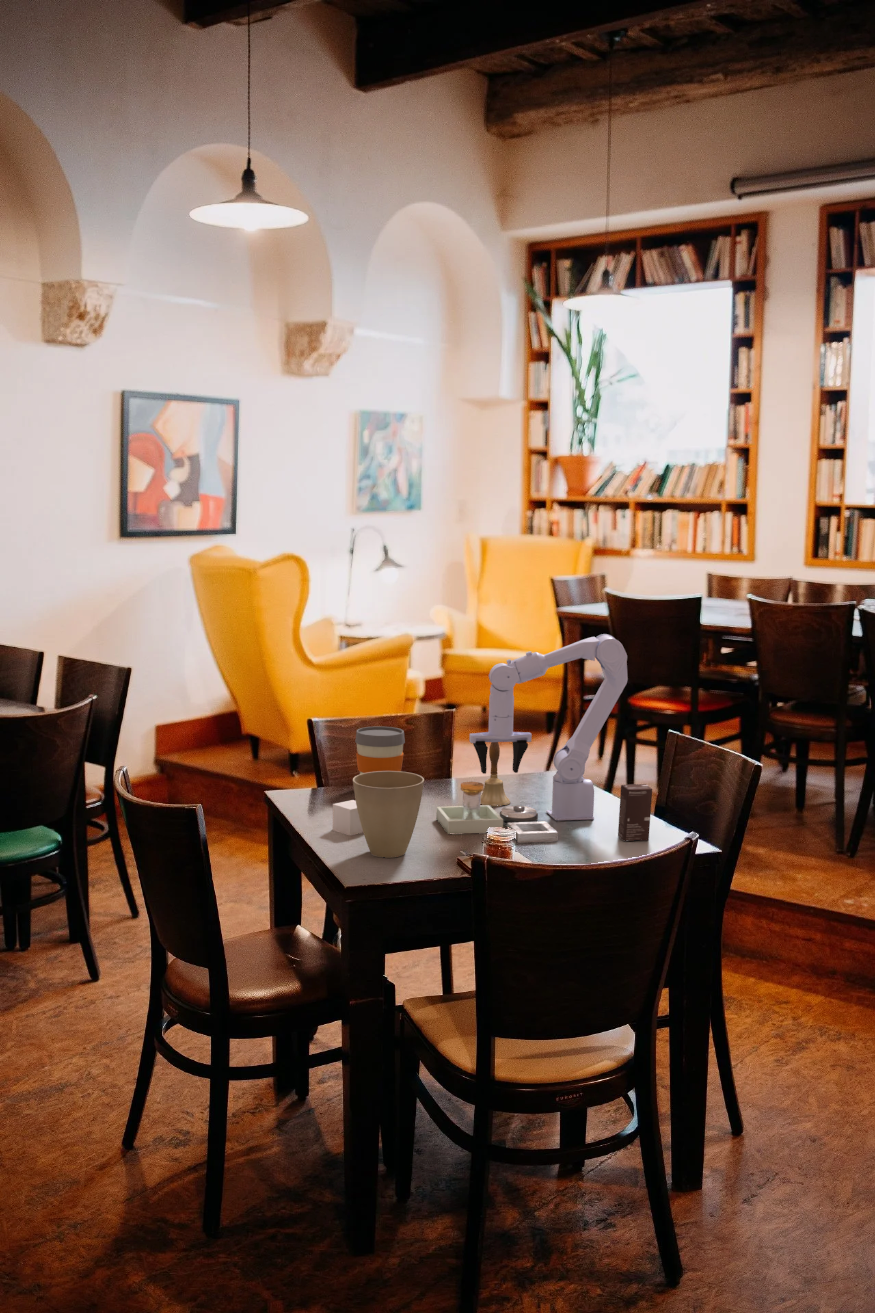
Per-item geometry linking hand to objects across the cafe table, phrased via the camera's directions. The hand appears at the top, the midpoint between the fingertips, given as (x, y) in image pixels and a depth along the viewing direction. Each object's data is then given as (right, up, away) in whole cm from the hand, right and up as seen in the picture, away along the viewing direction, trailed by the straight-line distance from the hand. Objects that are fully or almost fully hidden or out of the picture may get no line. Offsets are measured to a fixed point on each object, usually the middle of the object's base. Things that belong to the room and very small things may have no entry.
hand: (499, 772), depth 288 cm
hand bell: (-1, -9, +13) cm, 16 cm away
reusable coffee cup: (-29, -7, +24) cm, 38 cm away
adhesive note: (-34, -12, -14) cm, 38 cm away
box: (+29, -14, -16) cm, 36 cm away
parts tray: (-7, -11, -8) cm, 16 cm away
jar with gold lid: (-7, -11, -9) cm, 16 cm away
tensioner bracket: (+5, -12, -10) cm, 17 cm away
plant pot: (-25, -14, -30) cm, 42 cm away
